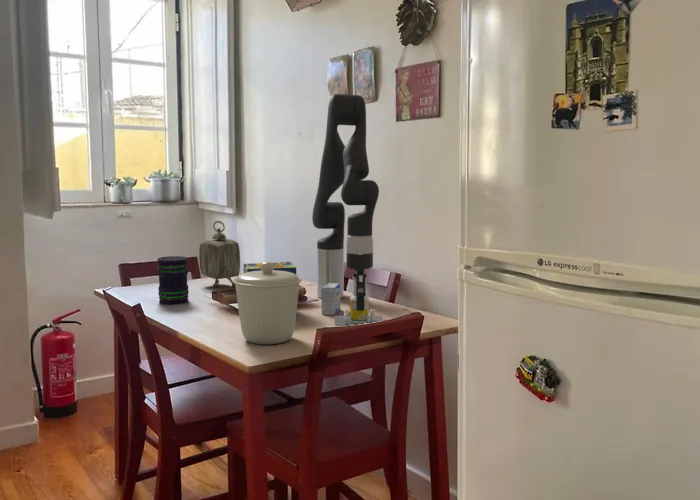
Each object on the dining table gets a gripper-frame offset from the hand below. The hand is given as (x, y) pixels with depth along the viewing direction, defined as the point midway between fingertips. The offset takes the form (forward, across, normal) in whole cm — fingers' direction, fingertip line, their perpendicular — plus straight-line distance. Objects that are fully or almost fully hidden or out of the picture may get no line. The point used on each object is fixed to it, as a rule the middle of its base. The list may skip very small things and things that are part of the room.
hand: (359, 307), depth 193 cm
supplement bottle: (+5, 0, 0) cm, 5 cm away
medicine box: (+6, -20, -8) cm, 22 cm away
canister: (+6, +13, -25) cm, 29 cm away
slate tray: (+6, 0, 0) cm, 6 cm away
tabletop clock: (+6, -65, -50) cm, 82 cm away
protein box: (+6, -18, -27) cm, 33 cm away
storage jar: (+6, -37, -61) cm, 72 cm away
